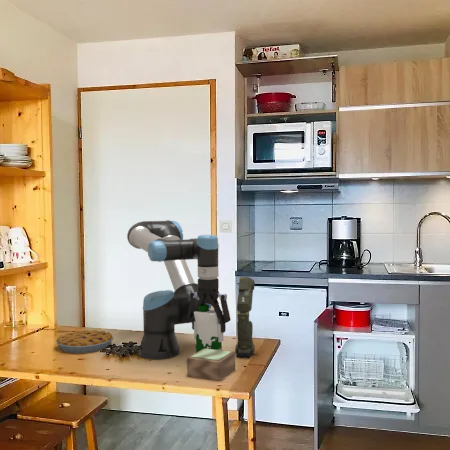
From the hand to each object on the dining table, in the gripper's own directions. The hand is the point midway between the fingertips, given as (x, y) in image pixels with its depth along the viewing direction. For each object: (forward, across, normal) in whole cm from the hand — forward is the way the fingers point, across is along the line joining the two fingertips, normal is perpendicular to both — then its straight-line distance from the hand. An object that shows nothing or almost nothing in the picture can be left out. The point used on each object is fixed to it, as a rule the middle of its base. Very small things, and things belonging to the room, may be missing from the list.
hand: (208, 339), depth 185 cm
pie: (+8, -54, -3) cm, 55 cm away
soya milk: (+8, 0, 0) cm, 8 cm away
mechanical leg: (+8, +9, +13) cm, 18 cm away
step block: (+7, +7, -12) cm, 16 cm away
